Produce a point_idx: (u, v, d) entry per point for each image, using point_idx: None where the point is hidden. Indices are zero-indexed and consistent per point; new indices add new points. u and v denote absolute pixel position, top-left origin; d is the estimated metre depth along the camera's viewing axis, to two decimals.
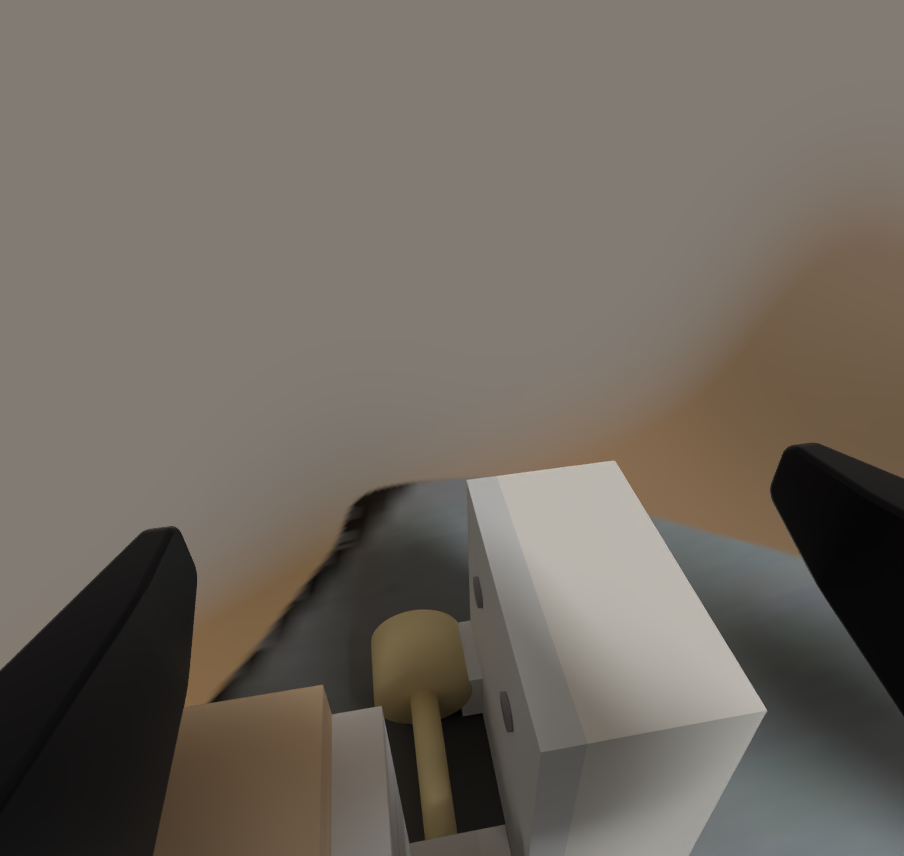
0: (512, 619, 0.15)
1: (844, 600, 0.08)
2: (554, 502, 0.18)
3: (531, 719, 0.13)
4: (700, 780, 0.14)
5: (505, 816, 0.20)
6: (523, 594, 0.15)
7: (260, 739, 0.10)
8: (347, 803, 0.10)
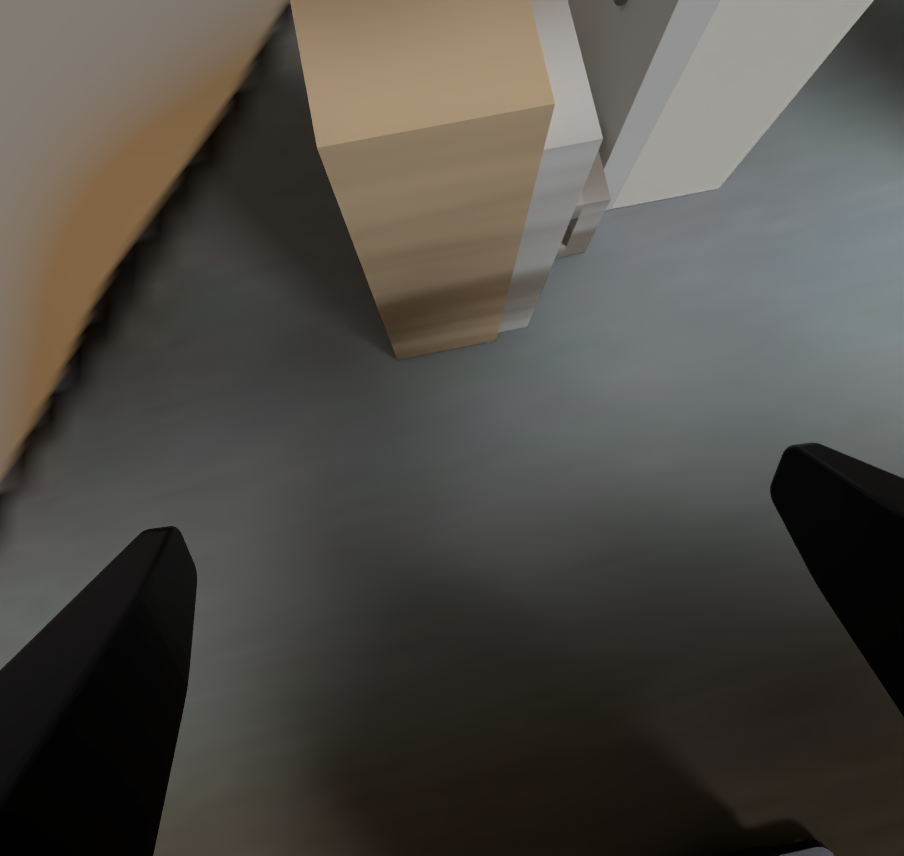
0: None
1: (844, 600, 0.08)
2: None
3: None
4: (814, 38, 0.14)
5: None
6: None
7: None
8: None
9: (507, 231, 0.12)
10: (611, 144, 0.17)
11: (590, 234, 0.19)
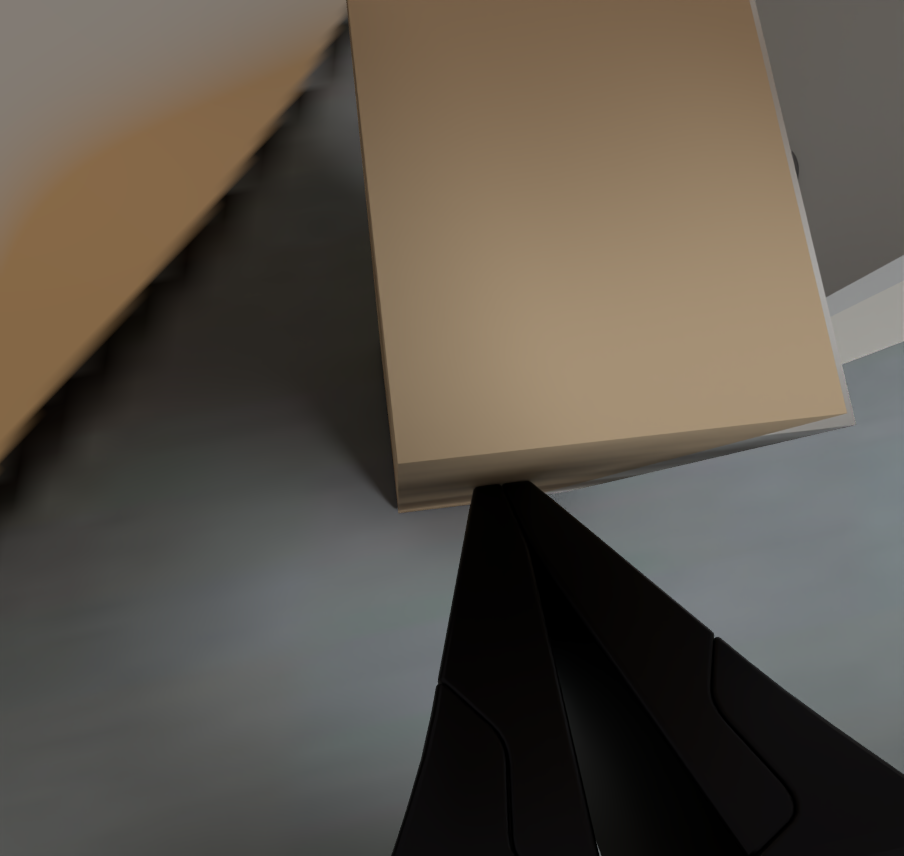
0: None
1: None
2: None
3: None
4: None
5: None
6: None
7: None
8: None
9: (621, 468, 0.08)
10: None
11: None
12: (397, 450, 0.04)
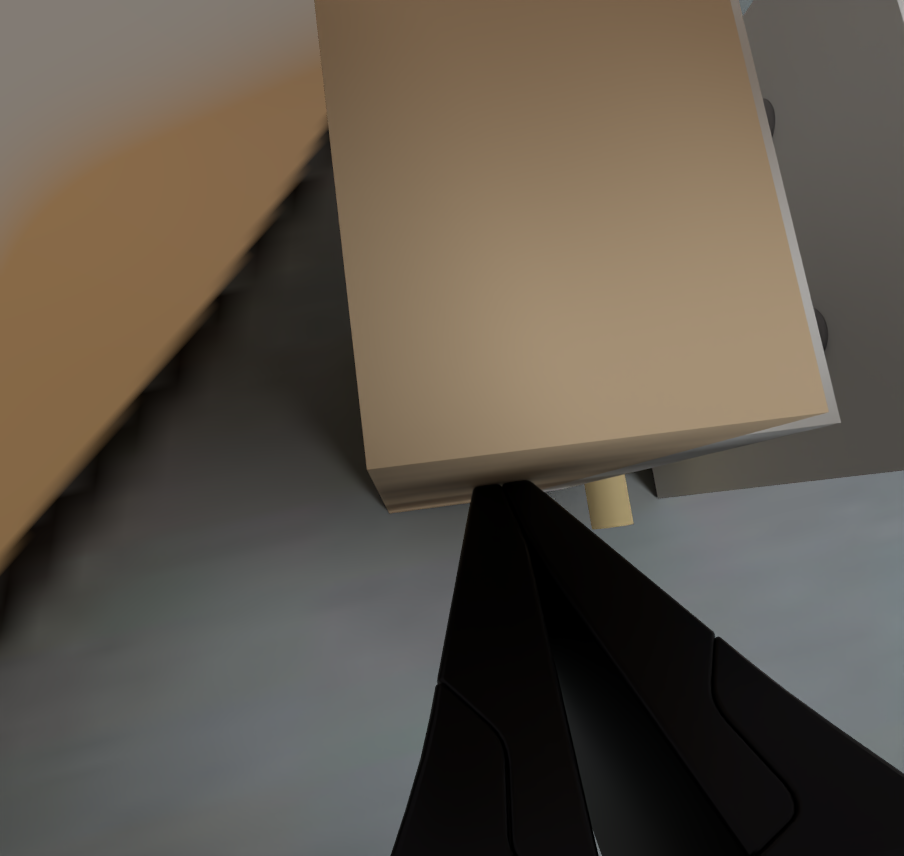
0: None
1: None
2: None
3: None
4: None
5: None
6: None
7: None
8: None
9: (608, 468, 0.08)
10: (733, 483, 0.13)
11: None
12: (366, 455, 0.04)
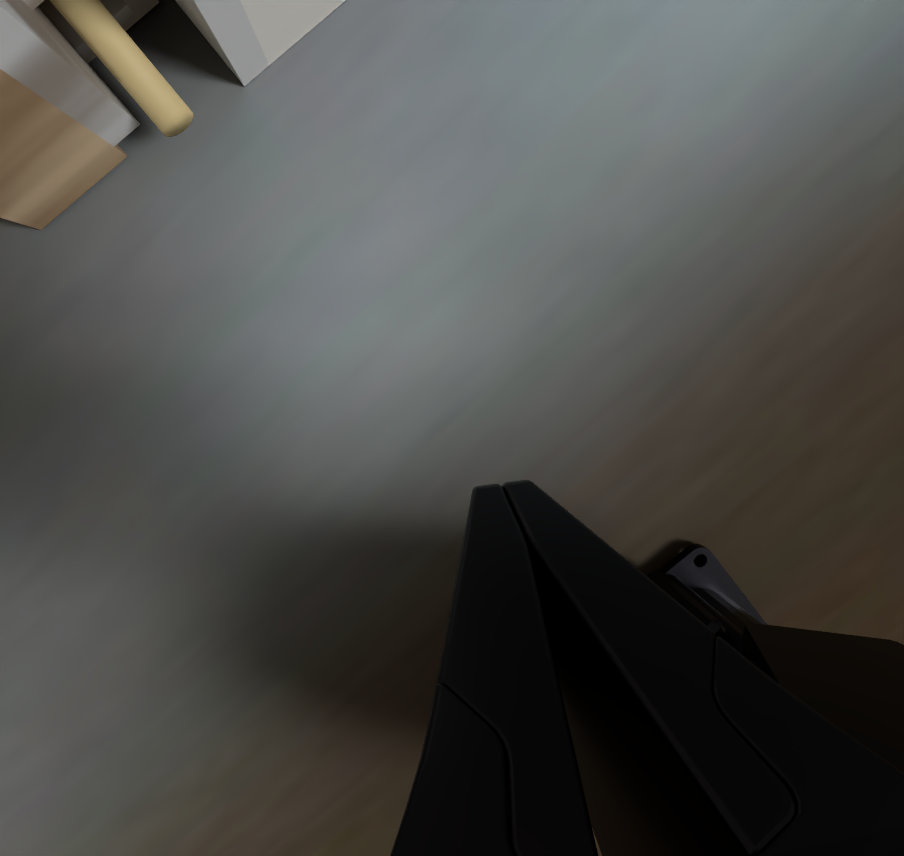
0: None
1: None
2: None
3: None
4: None
5: (183, 9, 0.17)
6: None
7: None
8: None
9: None
10: (201, 15, 0.14)
11: None
12: None
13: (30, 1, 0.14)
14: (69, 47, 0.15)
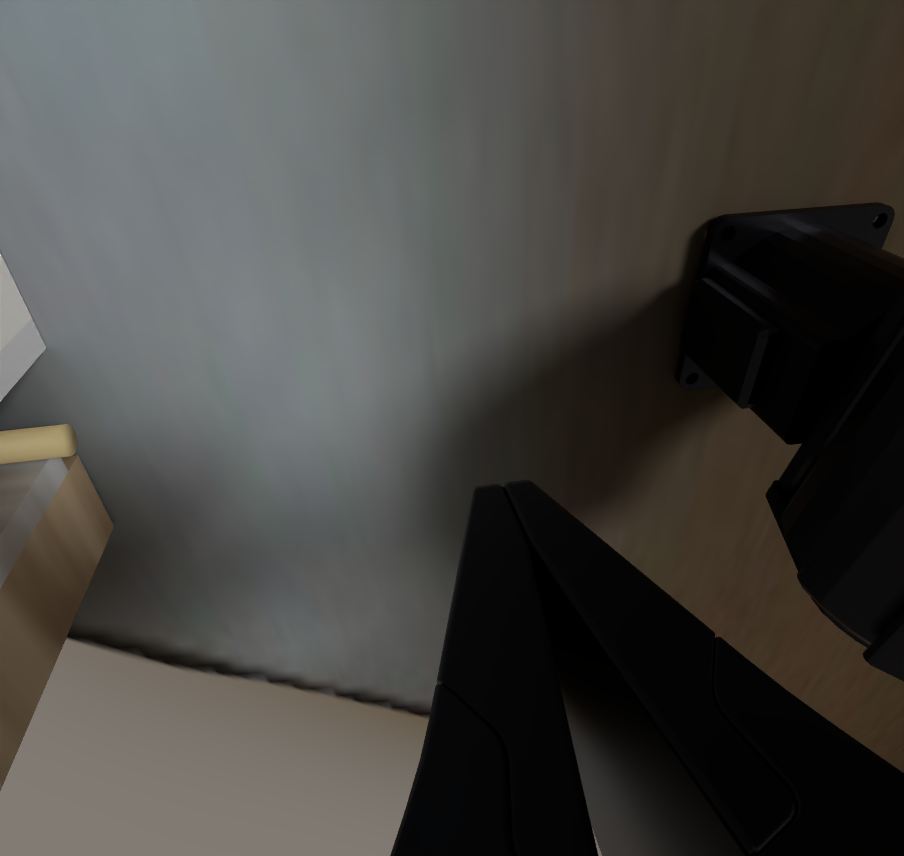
0: None
1: None
2: None
3: None
4: None
5: None
6: None
7: None
8: None
9: None
10: None
11: None
12: None
13: None
14: None
